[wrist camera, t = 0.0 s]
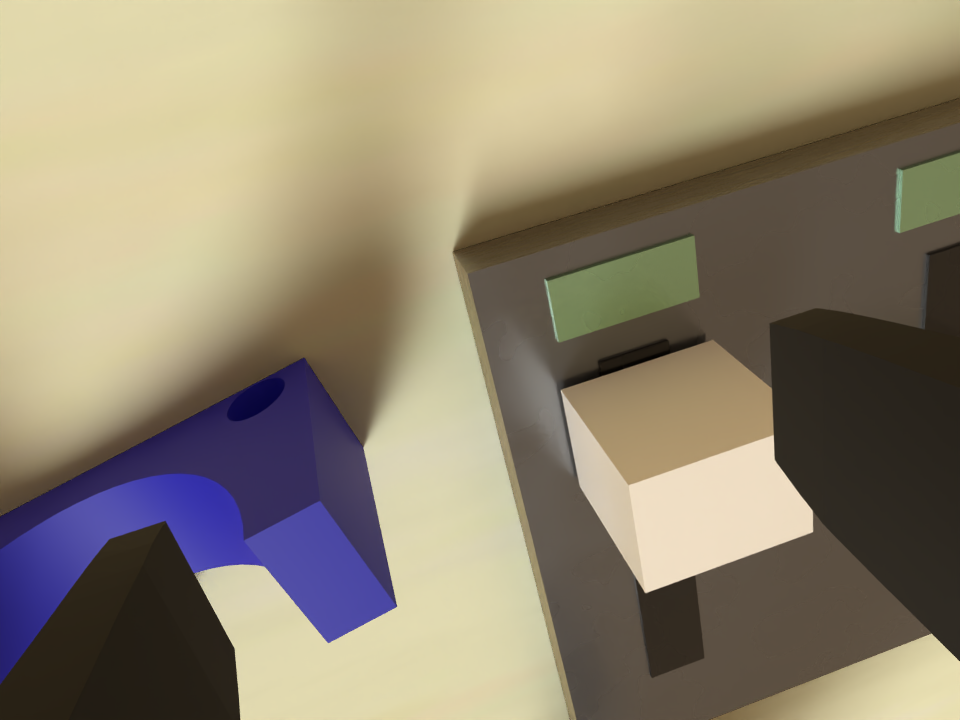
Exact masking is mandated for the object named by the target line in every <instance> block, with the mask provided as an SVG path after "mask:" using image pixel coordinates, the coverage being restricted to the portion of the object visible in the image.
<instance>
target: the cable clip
mask: <svg viewBox="0 0 960 720" xmlns="http://www.w3.org/2000/svg"><path fill="white" fill-rule="evenodd" d="M163 521H166V523H167V524H168V526H169V528H170V530H171V532H172V534H173V536H174V537H175V539H176V541H177V543H178V545H179V547H180V549H181V550H182V552H183V554H184V556H185V558H186V560H187V562H188V563H189V565H190V567H191V569H192V571H193V573H196V572H200V571H203V570H207V569H211V568H216V567H221V566H228V565H240V564H244V565H259V566H265V567H266V568H267V570H268V571H269V572H270V573H271V575H272V576H273V577H274V578H275V579H276V581H277V582H278V583H279V584H280V585H281V587H282V588H283V589H284V590H285V591H286V593H287V594H288V595H289V596H290V598H291V599H292V600H293V601H294V602H295V604H296V605H297V606H298V607H299V608H300V610H301V611H302V612H303V613H304V614H305V616H306V617H307V618H308V619H309V621H310V622H311V623H312V624H313V625H314V627H315V628H316V629H317V630H318V631H319V633H320V634H321V635H322V636H323V637H324V639H325V640H326V641H327V642H328V643H329V642H331V641H333V640H335V639H337V638H339V637H341V636H343V635H345V634H347V633H348V632H350V631H352V630H354V629H356V628H358V627H360V626H362V625H364V624H365V623H367V622H369V621H371V620H373V619H375V618H377V617H379V616H381V615H383V614H384V613H386V612H388V611H390V610H392V609H394V608H396V607H397V604H396V600H395V595H394V590H393V586H392V581H391V576H390V571H389V567H388V562H387V557H386V553H385V548H384V543H383V538H382V534H381V529H380V524H379V520H378V515H377V510H376V505H375V501H374V496H373V491H372V487H371V482H370V477H369V472H368V468H367V463H366V458H365V454H364V449H363V446H362V445H361V443H360V442H359V440H358V439H357V437H356V436H355V434H354V433H353V431H352V430H351V428H350V427H349V425H348V424H347V422H346V421H345V419H344V418H343V416H342V414H341V413H340V411H339V410H338V408H337V407H336V405H335V404H334V402H333V401H332V399H331V398H330V396H329V395H328V393H327V392H326V390H325V389H324V387H323V386H322V384H321V382H320V381H319V379H318V378H317V376H316V375H315V373H314V372H313V370H312V369H311V367H310V366H309V364H308V363H307V361H306V360H305V358H302V359H300V360H299V361H297V362H295V363H293V364H291V365H289V366H287V367H285V368H283V369H281V370H279V371H278V372H276V373H274V374H272V375H270V376H268V377H266V378H264V379H262V380H260V381H258V382H257V383H255V384H253V385H251V386H249V387H247V388H245V389H243V390H241V391H239V392H237V393H236V394H234V395H232V396H230V397H228V398H226V399H224V400H222V401H220V402H218V403H216V404H215V405H213V406H211V407H209V408H207V409H205V410H203V411H201V412H199V413H197V414H195V415H194V416H192V417H190V418H188V419H186V420H184V421H182V422H180V423H178V424H176V425H174V426H172V427H171V428H169V429H167V430H165V431H163V432H161V433H159V434H157V435H155V436H153V437H151V438H150V439H148V440H146V441H144V442H142V443H140V444H138V445H136V446H134V447H132V448H130V449H129V450H127V451H125V452H123V453H121V454H119V455H117V456H115V457H113V458H111V459H109V460H108V461H106V462H104V463H102V464H100V465H98V466H96V467H94V468H92V469H90V470H88V471H87V472H85V473H83V474H81V475H79V476H77V477H75V478H73V479H71V480H69V481H67V482H66V483H64V484H62V485H60V486H58V487H56V488H54V489H52V490H50V491H48V492H46V493H44V494H43V495H41V496H39V497H37V498H35V499H33V500H31V501H29V502H27V503H25V504H23V505H22V506H20V507H18V508H16V509H14V510H12V511H10V512H8V513H6V514H4V515H2V516H1V517H0V684H1V683H2V681H3V680H4V679H5V677H6V676H7V675H8V673H9V672H10V671H11V669H12V668H13V667H14V665H15V664H16V663H17V661H18V660H19V658H20V657H21V656H22V654H23V653H24V652H25V650H26V649H27V648H28V646H29V645H30V644H31V642H32V641H33V640H34V638H35V637H36V636H37V634H38V633H39V632H40V630H41V629H42V627H43V626H44V625H45V623H46V622H47V621H48V619H49V618H50V617H51V615H52V614H53V612H54V611H55V610H56V608H57V607H58V606H59V604H60V603H61V601H62V600H63V599H64V597H65V596H66V595H67V593H68V592H69V590H70V589H71V588H72V586H73V585H74V584H75V582H76V581H77V580H78V578H79V577H80V576H81V574H82V573H83V572H84V570H85V569H86V568H87V566H88V565H89V564H90V562H91V561H92V560H93V558H94V557H95V556H96V555H97V553H98V552H99V551H100V550H101V548H102V547H103V546H104V545H105V544H106V543H107V541H108V540H109V539H111V538H114V537H117V536H120V535H123V534H126V533H129V532H132V531H136V530H139V529H142V528H145V527H148V526H151V525H154V524H157V523H160V522H163Z"/></svg>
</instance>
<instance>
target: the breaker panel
mask: <svg viewBox="0 0 960 720" xmlns="http://www.w3.org/2000/svg"><path fill="white" fill-rule="evenodd" d="M453 256H454V260H455V264H456V268H457V272H458V276H459V280H460V284H461V288H462V291H463V295H464V299H465V303H466V307H467V311H468V315H469V319H470V323H471V327H472V331H473V335H474V339H475V343H476V347H477V351H478V355H479V359H480V363H481V367H482V371H483V375H484V379H485V383H486V387H487V391H488V395H489V399H490V403H491V407H492V411H493V415H494V419H495V423H496V427H497V431H498V435H499V439H500V443H501V447H502V451H503V455H504V459H505V463H506V467H507V471H508V475H509V478H510V482H511V486H512V490H513V494H514V498H515V502H516V506H517V510H518V514H519V518H520V522H521V526H522V530H523V534H524V538H525V542H526V546H527V550H528V554H529V558H530V562H531V566H532V570H533V574H534V578H535V582H536V586H537V590H538V594H539V598H540V602H541V606H542V610H543V614H544V618H545V622H546V626H547V630H548V634H549V638H550V642H551V646H552V650H553V654H554V658H555V662H556V665H557V669H558V673H559V677H560V681H561V685H562V689H563V693H564V697H565V701H566V705H567V709H568V713H569V717H570V720H710V719H713V718H715V717H718V716H720V715H723V714H726V713H728V712H731V711H733V710H736V709H738V708H741V707H744V706H746V705H749V704H751V703H754V702H756V701H759V700H762V699H764V698H767V697H769V696H772V695H774V694H777V693H780V692H782V691H785V690H787V689H790V688H792V687H795V686H798V685H800V684H803V683H805V682H808V681H810V680H813V679H816V678H818V677H821V676H823V675H826V674H828V673H831V672H834V671H836V670H839V669H841V668H844V667H846V666H849V665H852V664H854V663H857V662H859V661H862V660H864V659H867V658H870V657H872V656H875V655H877V654H880V653H882V652H885V651H888V650H890V649H893V648H895V647H898V646H901V645H903V644H906V643H908V642H911V641H913V640H916V639H919V638H921V637H924V636H926V635H929V634H931V632H930V631H929V630H928V629H927V628H926V627H925V626H924V625H923V624H922V623H921V622H920V621H919V620H918V619H917V618H916V617H915V616H914V615H913V614H912V613H911V612H910V611H909V610H908V609H907V608H906V607H905V606H904V605H903V604H902V603H901V602H900V601H899V600H898V599H897V598H896V597H895V596H894V595H893V594H892V593H891V592H889V591H888V590H887V589H886V588H885V587H884V586H883V585H882V584H881V583H880V582H879V581H878V580H877V579H876V578H875V577H874V576H873V575H872V574H871V573H870V572H869V571H868V570H867V569H866V568H865V567H864V566H863V564H862V563H861V562H860V561H859V560H858V559H857V558H856V557H855V556H854V555H853V554H852V553H851V552H850V551H849V550H848V549H847V548H846V547H845V546H844V545H843V544H842V543H841V542H840V541H839V540H838V539H837V538H836V537H835V536H834V535H833V534H832V533H831V532H830V531H829V530H828V529H827V528H826V527H825V526H824V525H823V523H822V522H821V521H820V520H819V518H818V517H817V516H816V514H815V513H814V512H813V532H812V533H809V534H806V535H804V536H801V537H798V538H796V539H793V540H790V541H787V542H785V543H782V544H779V545H776V546H774V547H771V548H768V549H765V550H763V551H760V552H757V553H754V554H752V555H749V556H746V557H743V558H741V559H738V560H735V561H733V562H730V563H727V564H724V565H722V566H719V567H716V568H713V569H711V570H708V571H705V572H702V573H700V574H697V575H694V576H691V577H689V578H686V579H683V580H680V581H678V582H675V583H672V584H669V585H667V586H664V587H661V588H659V589H656V590H653V591H650V592H648V593H645V592H644V590H643V588H642V587H641V585H640V583H639V582H638V580H637V579H636V577H635V575H634V574H633V572H632V570H631V569H630V567H629V566H628V564H627V562H626V561H625V559H624V557H623V556H622V554H621V553H620V551H619V549H618V548H617V546H616V544H615V543H614V541H613V540H612V538H611V536H610V535H609V533H608V531H607V530H606V528H605V527H604V525H603V523H602V522H601V520H600V518H599V517H598V515H597V514H596V512H595V510H594V509H593V507H592V505H591V504H590V502H589V501H588V499H587V497H586V496H585V494H584V492H583V491H582V489H581V488H580V485H579V480H578V475H577V470H576V465H575V460H574V455H573V450H572V445H571V440H570V434H569V429H568V424H567V419H566V414H565V409H564V404H563V399H562V394H561V390H562V389H565V388H568V387H571V386H574V385H577V384H580V383H583V382H586V381H589V380H592V379H595V378H598V377H601V376H604V375H607V374H611V373H614V372H617V371H620V370H623V369H626V368H629V367H632V366H635V365H638V364H641V363H644V362H647V361H650V360H653V359H656V358H659V357H662V356H665V355H668V354H671V353H674V352H677V351H680V350H683V349H687V348H690V347H693V346H696V345H699V344H702V343H705V342H708V341H711V340H714V341H715V342H716V343H717V344H719V345H720V346H721V347H722V348H723V349H725V350H726V351H727V352H728V353H729V354H731V355H732V356H733V357H734V358H736V359H737V360H738V361H739V362H740V363H742V364H743V365H744V366H745V367H746V368H748V369H749V370H750V371H751V372H752V373H754V374H755V375H756V376H757V377H758V378H760V379H761V380H762V381H763V382H764V383H766V384H767V385H768V386H769V387H770V388H772V379H771V352H770V326H769V323H772V322H775V321H778V320H781V319H784V318H787V317H790V316H793V315H796V314H799V313H802V312H805V311H808V310H811V309H814V308H820V309H827V310H835V311H841V312H847V313H852V314H857V315H862V316H867V317H872V318H876V319H881V320H886V321H890V322H895V323H899V324H904V325H908V326H912V327H917V328H921V329H925V330H930V331H934V332H938V333H943V334H947V335H951V336H956V337H960V98H959V99H956V100H953V101H950V102H946V103H943V104H940V105H936V106H933V107H930V108H926V109H923V110H920V111H917V112H913V113H910V114H907V115H903V116H900V117H897V118H893V119H890V120H887V121H884V122H880V123H877V124H874V125H870V126H867V127H864V128H860V129H857V130H854V131H850V132H847V133H844V134H841V135H837V136H834V137H831V138H827V139H824V140H821V141H817V142H814V143H811V144H808V145H804V146H801V147H798V148H794V149H791V150H788V151H784V152H781V153H778V154H774V155H771V156H768V157H765V158H761V159H758V160H755V161H751V162H748V163H745V164H741V165H738V166H735V167H732V168H728V169H725V170H722V171H718V172H715V173H712V174H708V175H705V176H702V177H698V178H695V179H692V180H689V181H685V182H682V183H679V184H675V185H672V186H669V187H665V188H662V189H659V190H656V191H652V192H649V193H646V194H642V195H639V196H636V197H632V198H629V199H626V200H623V201H619V202H616V203H613V204H609V205H606V206H603V207H599V208H596V209H593V210H589V211H586V212H583V213H580V214H576V215H573V216H570V217H566V218H563V219H560V220H556V221H553V222H550V223H547V224H543V225H540V226H537V227H533V228H530V229H527V230H523V231H520V232H517V233H513V234H510V235H507V236H504V237H500V238H497V239H494V240H490V241H487V242H484V243H480V244H477V245H474V246H471V247H467V248H464V249H461V250H457V251H454V252H453Z"/></svg>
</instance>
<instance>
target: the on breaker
mask: <svg viewBox="0 0 960 720" xmlns="http://www.w3.org/2000/svg"><path fill="white" fill-rule="evenodd" d="M561 394H562V399H563V404H564V409H565V414H566V419H567V424H568V429H569V434H570V440H571V445H572V450H573V455H574V460H575V465H576V470H577V475H578V480H579V485H580V488H581V489H582V491H583V492H584V494H585V496H586V497H587V499H588V501H589V502H590V504H591V505H592V507H593V509H594V510H595V512H596V514H597V515H598V517H599V518H600V520H601V522H602V523H603V525H604V527H605V528H606V530H607V531H608V533H609V535H610V536H611V538H612V540H613V541H614V543H615V544H616V546H617V548H618V549H619V551H620V553H621V554H622V556H623V557H624V559H625V561H626V562H627V564H628V566H629V567H630V569H631V570H632V572H633V574H634V575H635V577H636V579H637V580H638V582H639V583H640V585H641V587H642V588H643V590H644V592H645V593H648V592H650V591H653V590H656V589H659V588H661V587H664V586H667V585H669V584H672V583H675V582H678V581H680V580H683V579H686V578H689V577H691V576H694V575H697V574H700V573H702V572H705V571H708V570H711V569H713V568H716V567H719V566H722V565H724V564H727V563H730V562H733V561H735V560H738V559H741V558H743V557H746V556H749V555H752V554H754V553H757V552H760V551H763V550H765V549H768V548H771V547H774V546H776V545H779V544H782V543H785V542H787V541H790V540H793V539H796V538H798V537H801V536H804V535H806V534H809V533H812V532H813V511H812V509H811V508H810V507H809V506H808V504H807V503H806V502H805V500H804V499H803V498H802V497H801V495H800V494H799V493H798V491H797V490H796V489H795V487H794V486H793V484H792V483H791V482H790V480H789V479H788V478H787V476H786V475H785V474H784V472H783V471H782V469H781V468H780V467H779V465H778V464H777V463H776V461H775V457H774V431H773V405H772V388H770V387H769V386H768V385H767V384H766V383H764V382H763V381H762V380H761V379H760V378H758V377H757V376H756V375H755V374H754V373H752V372H751V371H750V370H749V369H748V368H746V367H745V366H744V365H743V364H742V363H740V362H739V361H738V360H737V359H736V358H734V357H733V356H732V355H731V354H729V353H728V352H727V351H726V350H725V349H723V348H722V347H721V346H720V345H719V344H717V343H716V342H715V341H714V340H711V341H708V342H705V343H702V344H699V345H696V346H693V347H690V348H687V349H683V350H680V351H677V352H674V353H671V354H668V355H665V356H662V357H659V358H656V359H653V360H650V361H647V362H644V363H641V364H638V365H635V366H632V367H629V368H626V369H623V370H620V371H617V372H614V373H611V374H607V375H604V376H601V377H598V378H595V379H592V380H589V381H586V382H583V383H580V384H577V385H574V386H571V387H568V388H565V389H562V390H561Z"/></svg>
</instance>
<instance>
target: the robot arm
mask: <svg viewBox="0 0 960 720" xmlns="http://www.w3.org/2000/svg"><path fill="white" fill-rule="evenodd" d="M769 326H770V352H771V379H772V405H773V431H774V457H775V461H776V463H777V464H778V465H779V467H780V468H781V469H782V471H783V472H784V474H785V475H786V476H787V478H788V479H789V480H790V482H791V483H792V484H793V486H794V487H795V489H796V490H797V491H798V493H799V494H800V495H801V497H802V498H803V499H804V500H805V502H806V503H807V504H808V506H809V507H810V508H811V509H812V511H813V512H814V513H815V514H816V516H817V517H818V518H819V520H820V521H821V522H822V523H823V525H824V526H825V527H826V528H827V529H828V530H829V531H830V532H831V533H832V534H833V535H834V536H835V537H836V538H837V539H838V540H839V541H840V542H841V543H842V544H843V545H844V546H845V547H846V548H847V549H848V550H849V551H850V552H851V553H852V554H853V555H854V556H855V557H856V558H857V559H858V560H859V561H860V562H861V563H862V564H863V566H864V567H865V568H866V569H867V570H868V571H869V572H870V573H871V574H872V575H873V576H874V577H875V578H876V579H877V580H878V581H879V582H880V583H881V584H882V585H883V586H884V587H885V588H886V589H887V590H888V591H889V592H891V593H892V594H893V595H894V596H895V597H896V598H897V599H898V600H899V601H900V602H901V603H902V604H903V605H904V606H905V607H906V608H907V609H908V610H909V611H910V612H911V613H912V614H913V615H914V616H915V617H916V618H917V619H918V620H919V621H920V622H921V623H922V624H923V625H924V626H925V627H926V628H927V629H928V630H929V631H930V632H931V633H932V634H933V635H934V636H935V637H936V638H937V639H938V640H939V641H940V642H941V643H942V644H943V645H944V646H945V647H946V648H947V649H948V650H949V651H950V652H951V653H952V654H953V655H954V656H955V657H956V658H957V659H958V660H959V661H960V337H956V336H951V335H947V334H943V333H938V332H934V331H930V330H925V329H921V328H917V327H912V326H908V325H904V324H899V323H895V322H890V321H886V320H881V319H876V318H872V317H867V316H862V315H857V314H852V313H847V312H841V311H835V310H827V309H820V308H814V309H811V310H808V311H805V312H802V313H799V314H796V315H793V316H790V317H787V318H784V319H781V320H778V321H775V322H772V323H769ZM0 720H240V709H239V694H238V683H237V672H236V661H235V650H234V647H233V645H232V643H231V641H230V640H229V638H228V636H227V634H226V632H225V630H224V628H223V627H222V625H221V623H220V621H219V619H218V617H217V615H216V614H215V612H214V610H213V608H212V606H211V604H210V602H209V601H208V599H207V597H206V595H205V593H204V591H203V589H202V588H201V586H200V584H199V582H198V580H197V578H196V576H195V575H194V573H193V571H192V569H191V567H190V565H189V563H188V562H187V560H186V558H185V556H184V554H183V552H182V550H181V549H180V547H179V545H178V543H177V541H176V539H175V537H174V536H173V534H172V532H171V530H170V528H169V526H168V524H167V523H166V521H163V522H160V523H157V524H154V525H151V526H148V527H145V528H142V529H139V530H136V531H132V532H129V533H126V534H123V535H120V536H117V537H114V538H111V539H109V540H108V541H107V543H106V544H105V545H104V546H103V547H102V548H101V550H100V551H99V552H98V553H97V555H96V556H95V557H94V558H93V560H92V561H91V562H90V564H89V565H88V566H87V568H86V569H85V570H84V572H83V573H82V574H81V576H80V577H79V578H78V580H77V581H76V582H75V584H74V585H73V586H72V588H71V589H70V590H69V592H68V593H67V595H66V596H65V597H64V599H63V600H62V601H61V603H60V604H59V606H58V607H57V608H56V610H55V611H54V612H53V614H52V615H51V617H50V618H49V619H48V621H47V622H46V623H45V625H44V626H43V627H42V629H41V630H40V632H39V633H38V634H37V636H36V637H35V638H34V640H33V641H32V642H31V644H30V645H29V646H28V648H27V649H26V650H25V652H24V653H23V654H22V656H21V657H20V658H19V660H18V661H17V663H16V664H15V665H14V667H13V668H12V669H11V671H10V672H9V673H8V675H7V676H6V677H5V679H4V680H3V681H2V683H1V684H0Z"/></svg>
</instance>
